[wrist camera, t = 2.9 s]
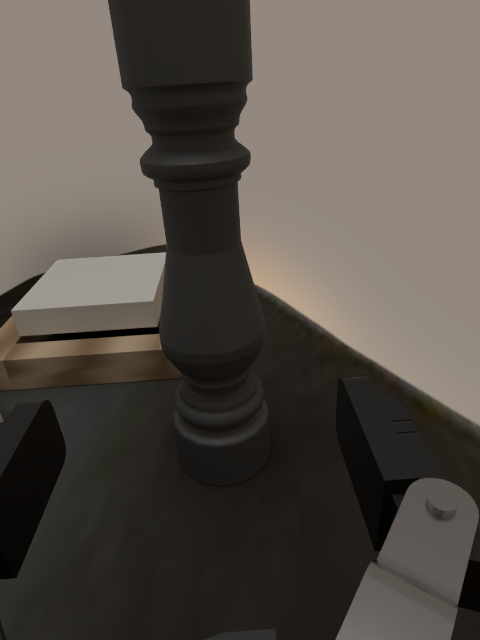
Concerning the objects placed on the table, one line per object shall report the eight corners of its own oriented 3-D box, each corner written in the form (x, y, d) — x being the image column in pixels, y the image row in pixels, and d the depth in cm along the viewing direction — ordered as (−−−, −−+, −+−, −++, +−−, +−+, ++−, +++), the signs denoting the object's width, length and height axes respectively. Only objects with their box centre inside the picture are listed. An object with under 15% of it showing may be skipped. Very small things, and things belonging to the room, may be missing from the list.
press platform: (19, 336, 38) (11, 310, 37) (63, 280, 48) (57, 259, 47) (157, 326, 38) (153, 300, 37) (171, 273, 48) (168, 252, 47)
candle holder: (286, 465, 28) (283, -20, 16) (194, 500, 26) (112, -23, 14) (248, 408, 33) (223, 7, 21) (169, 434, 31) (91, 8, 19)
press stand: (-18, 392, 37) (-31, 362, 35) (53, 299, 53) (47, 276, 51) (194, 377, 37) (190, 347, 35) (202, 289, 53) (199, 265, 51)
